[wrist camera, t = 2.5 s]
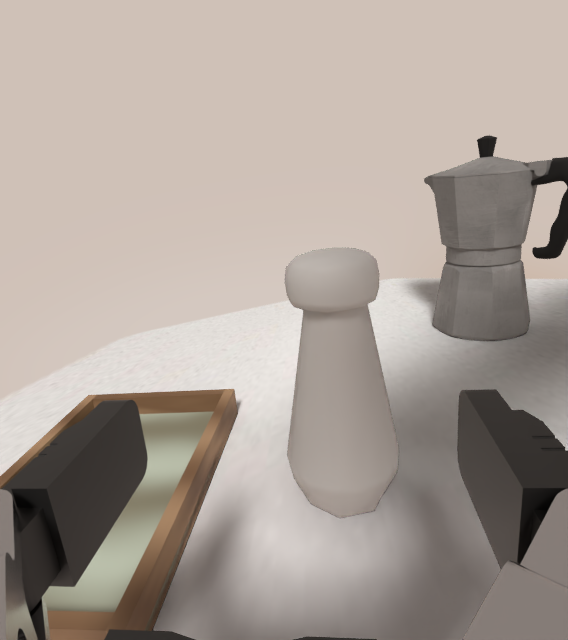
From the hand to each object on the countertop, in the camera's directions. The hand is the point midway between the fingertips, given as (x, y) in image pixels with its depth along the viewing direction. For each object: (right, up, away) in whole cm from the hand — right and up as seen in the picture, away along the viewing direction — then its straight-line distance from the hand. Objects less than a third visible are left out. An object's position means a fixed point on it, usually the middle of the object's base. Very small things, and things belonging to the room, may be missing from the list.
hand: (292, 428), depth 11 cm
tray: (-10, -7, +15) cm, 19 cm away
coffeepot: (+20, +2, +34) cm, 40 cm away
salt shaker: (+3, -7, +13) cm, 15 cm away
